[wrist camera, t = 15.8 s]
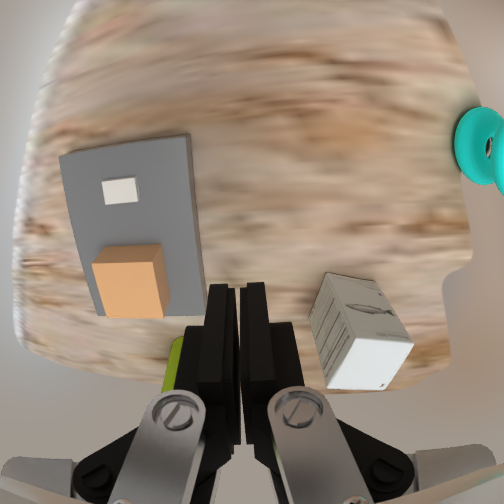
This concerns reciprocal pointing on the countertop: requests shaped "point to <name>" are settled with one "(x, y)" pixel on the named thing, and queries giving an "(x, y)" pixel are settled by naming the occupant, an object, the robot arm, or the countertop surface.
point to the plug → (132, 281)
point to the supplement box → (357, 334)
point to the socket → (139, 211)
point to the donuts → (481, 146)
